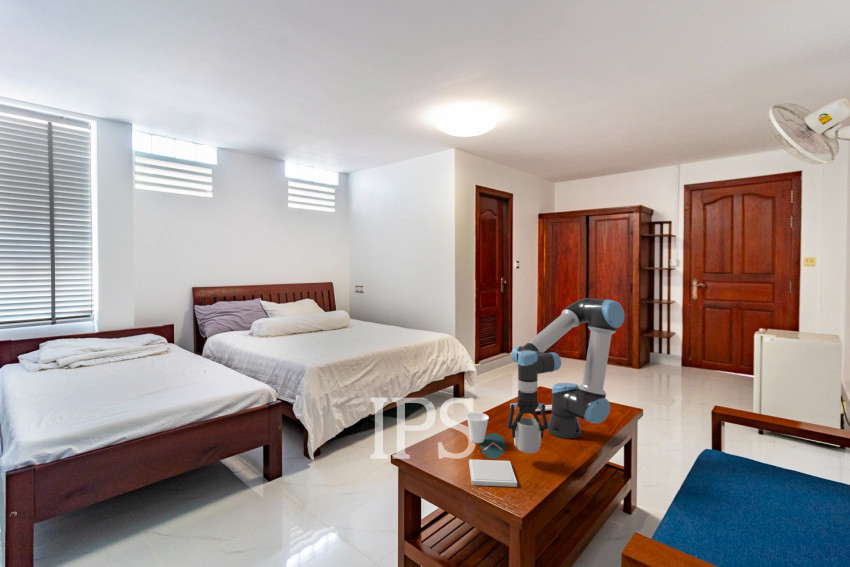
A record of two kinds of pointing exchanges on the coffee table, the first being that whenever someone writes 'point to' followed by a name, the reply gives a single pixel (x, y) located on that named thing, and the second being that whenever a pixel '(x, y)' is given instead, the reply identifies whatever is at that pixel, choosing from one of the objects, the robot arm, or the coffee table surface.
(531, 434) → the mug
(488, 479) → the plate
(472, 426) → the cup
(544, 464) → the coffee table surface
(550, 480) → the coffee table surface
